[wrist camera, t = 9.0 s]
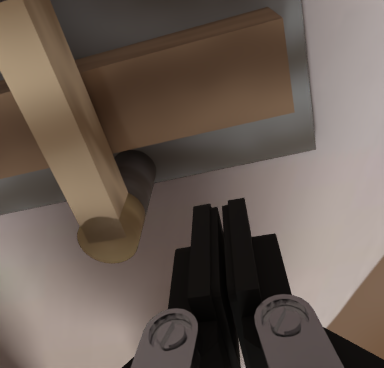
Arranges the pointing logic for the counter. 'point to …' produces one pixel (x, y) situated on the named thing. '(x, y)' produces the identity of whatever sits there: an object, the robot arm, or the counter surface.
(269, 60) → the wooden gate latch
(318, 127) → the counter surface
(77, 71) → the bar
